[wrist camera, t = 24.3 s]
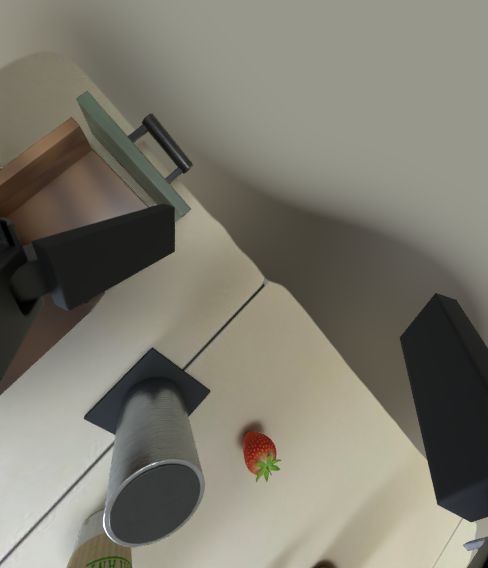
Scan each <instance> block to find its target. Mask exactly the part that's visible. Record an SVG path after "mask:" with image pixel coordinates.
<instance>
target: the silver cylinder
mask: <svg viewBox="0 0 488 568" xmlns="http://www.w3.org/2000/svg"><path fill="white" fill-rule="evenodd" d="M204 486H205V483H204V477H203V473H202V469H201V465H200V461H199V457H198V453H197V449H196V445H195V441H194V437H193V433H192V429H191V425H190V421H189V418H188V414H187V410H186V406H185V402H184V398H183V394H182V391H181V389H180V387H179V386H178V384H177V383H175V382H174V381H172V380H170V379H168V378H164V377H153V378H148V379H145V380H143V381H140V382H139V383H137V384H135V385H134V386H133V387H132V388H130V389H129V390H128V392H127V393H126V394H125V395H124V397H123V399H122V401H121V404H120V409H119V416H118V422H117V429H116V436H115V443H114V449H113V456H112V463H111V470H110V476H109V483H108V490H107V497H106V503H105V510H104V518H103V523H104V528H105V531H106V533H107V535H108V536H109V538H110V539H111V540H112V541H114V542H116V543H117V544H120V545H123V546H127V547H139V546H145V545H149V544H153V543H155V542H158V541H160V540H162V539H164V538H166V537H168V536H170V535H171V534H173V533H174V532H175V531H177V530H178V529H179V528H181V527H182V526H183V525H184V524H185V523H186V522H187V521H188V520H189V519H190V518H191V516H192V515H193V514H194V512H195V511H196V509H197V508H198V506H199V504H200V502H201V500H202V497H203V493H204Z"/></svg>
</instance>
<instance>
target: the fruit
mask: <svg viewBox="0 0 488 568" xmlns="http://www.w3.org/2000/svg"><path fill="white" fill-rule="evenodd" d="M243 452H244V459H245V463H246V465H247V468H248V469H249V470H250V472H251V473H253V474H255V475H257V478H256V482H257V481H258V479H259V478H260V476H261V475H263V474H264V476H265V479H266V481H267V480H268V475H269V473H270V474H271V472H270V470H277V471H278V470H280V468H279V467H277V466H275V465H273V464H275V463H276V462H278V461H281V460H276V448H275V445H274V443H273V442H272V440H271V439H270V438H269V437H267V436H266V435H264V434H262V433H259V432H255V431H250V432H248V433H246V435H245V437H244V445H243Z"/></svg>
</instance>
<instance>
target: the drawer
mask: <svg viewBox="0 0 488 568" xmlns="http://www.w3.org/2000/svg"><path fill="white" fill-rule="evenodd" d="M76 100H77V102H78V104H79V106H80V108H81V110H82V112H83V114H84V117H85V119H86V121H87V123H88V125H89V127H90V129H91V131H92V134H93V135H94V136H95V137H96V138H97V139H98V140H99V141H100V142H101V143H102V144H103V145H104V146H105V147H106V149H107V150H108V151H109V152H110V153H111V154H112V155H113V156H114V157H115V158H116V159H117V160H118V161H119V162H120V164H121V165H122V166H123V167H124V168H125V169H126V170H127V171H128V172H129V173H130V174H131V175H132V176H133V177H134V178H135V180H136V181H137V182H138V183H139V184H140V185H141V186H142V187H143V188H144V189H145V190H146V191H147V192H148V193H149V194H150V196H151V197H152V198H153V199H154V200H155V201H156V202H157V203H158V204H159V205H160V204H163V203H164V204H167V205H170V206H173V207H175V222H176V221H177V220H179V219H180V218H181V217H183V216H184V215H185V214H186V213H187V212H188V211H190V210H191V208H190V207H189V206H188V205H187V204H186V203H185V201H184V200H183V199H182V198H181V197H180V196H179V195H178V193H177V192H176V191H175V190H174V189H173V188H172V187H171V186H170V183H171V182H172V181H173V180H174V179H176V178H177V177H178V176H179V175H180V174H181V173H182V172H183V174H184V173H186V172H187V171H188V170H189V169H190V168H191V167H192V166H193V164H192V162H191V161H190V160H189V159H188V157H187V156H186V155H185V154H184V152H183V151H182V150H181V149H180V148H179V146H178V145H177V144H176V142H175V141H174V140H173V139H172V138H171V136H170V135H169V134H168V132H167V131H166V130H165V129H164V127H163V126H162V125H161V124H160V123H159V121H158V120H157V119H156V117H155V116H154V115H153V114H149V115H148V116H146V117H145V118H144V120H143V122H142V124H143V125H141V126H140V127H139V128H138V129H136V130H135V131H134V132H133V133H131V134H130V135H129V136H128V137H127V135H126V134H125V133H124V132H123V131H122V130H121V129H120V127H119V126H118V125H117V124H116V123H115V122H114V121H113V119H112V118H111V117H110V116H109V115H108V114H107V113H106V111H105V110H104V109H103V108H102V107H101V106H100V105H99V104H98V102H97V101H96V100H95V99H94V98H93V97H92V96H91V94H90V93H89V92H88V91H86V92H84V93H83V94H82V95H80V96H79V97H77V98H76ZM147 132H149V133H150V134H151V135H152V136H153V138H154V139H155V140H156V141H157V142H158V143H159V144H160V146H161V147H162V148H163V150H164V151H165V152H166V153H167V154H168V156H169V157H170V158H171V159H172V160H173V162H174V163H175V164H176V165H177V166H178V168H177V169H176V170H175V171H174V172H172V173H171V174H170V175H169V176H168V177H167V178H165V179H164V178H163V176H162V175H161V174H160V173H159V172H158V171H157V170H156V168H155V167H154V166H153V165H152V164H151V163H150V162H149V160H148V159H147V158H146V157H145V156H144V155H143V154H142V152H141V151H140V150H139V149H138V148H137V147H136V146H135V145H134V142H136V141H137V140H138V139H139V138H140V137H142V136H143V135H144V134H145V133H147ZM146 208H149V207H148V206H147V205H146V204H145V203H144V202H143V201H142V200H141V199H140V198H139V197H138V196H137V195H136V194H135V193H134V192H133V191H132V190H131V189H130V188H129V187H128V186H127V185H126V183H125V182H124V181H123V180H122V179H121V178H120V177H119V176H118V175H117V174H116V173H115V172H114V171H113V170H112V169H111V168H110V167H109V166H108V165H107V164H106V163H105V162H104V161H103V160H102V159H101V158H100V157H99V155H98V154H97V153H96V152H95V151H94V150H93V149H92V148H91V146H90V144H89V142H88V140H87V138H86V137H85V135H84V133H83V131H82V129H81V128H80V126H79V125H78V124H77V122H76V121H75V120H74V119H73V118H72V117H71V118H70V119H68V120H67V121H65V122H64V123H63V124H61V125H60V126H59V127H57V128H56V129H55V130H53V131H52V132H51V133H49V134H48V135H47V136H45V137H44V138H42V139H41V140H40V141H38V142H37V143H36V144H34V145H33V146H32V147H30V148H29V149H28V150H26V151H25V152H23V153H22V154H21V155H19V156H18V157H17V158H15V159H14V160H13V161H11V162H10V163H9V164H7V165H6V166H5V167H3V168H2V169H0V217H3V218H7V219H10V220H11V221H12V222H13V223H14V226H15V228H16V231H17V233H18V236H19V238H20V241H21V243H22V246H25V245H28V244H32V243H31V241H33V240H37V239H40V238H44V237H47V236H51V235H54V234H58V233H61V232H65V231H68V230H72V229H76V228H79V227H83V226H86V225H90V224H93V223H97V222H100V221H104V220H107V219H111V218H114V217H118V216H121V215H125V214H128V213H132V212H135V211H139V210H142V209H146Z"/></svg>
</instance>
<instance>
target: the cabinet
mask: <svg viewBox="0 0 488 568" xmlns="http://www.w3.org/2000/svg"><path fill="white" fill-rule="evenodd" d="M104 294H105V292H102V293H101V294H99V295H97V296H95V297H93V298H92V299H90V300H88V301H86V302H85V303H83V304H81V305H79V306H78V307H76V308H74V309H72V310H71V311H67V310H65V309H63V308H61V307H59V306H57V305H55V304H54V301H53V298H52V296H51V293H50V292H49V293H47V294H45V295H43V298H44V300H45V301H44V305H43V307H42V309H41V310H40V312H39V314H38V316H37V318H36V319H35V321H34V323H33V325H32V326H31V328H30V330H29V332H28V334H27V335H26V337H25V339H24V341H23V342H22V344H21V346H20V348H19V350H18V351H17V353H16V355H15V357H14V358H13V360H12V362H11V364H10V366H9V367H8V369H7V371H6V373H5V374H4V376H3V378H2V380H1V382H0V395H1V394H2V393H3V392H4V391H5V390H6V389H7V388H8V387H10V386H11V385H12V384H13V383H14V382H15V381H16V380H17V379H18V378H19V377H20V376H21V375H22V374H24V373H25V372H26V371H27V370H28V369H29V368H30V367H31V366H32V365H33V364H34V363H35V362H36V361H38V360H39V359H40V358H41V357H42V356H43V355H44V354H45V353H46V352H47V351H48V350H49V349H50V348H52V347H53V346H54V345H55V344H56V343H57V342H58V341H59V340H60V339H61V338H62V337H63V336H64V335H66V334H67V333H68V332H69V331H70V330H71V329H72V328H73V327H74V326H75V325H76V324H77V323H78V322H80V321H81V320H82V319H83V318H84V317H85V316H86V315H87V314H88V313H89V312H90V311H91V310H92V309H93V308H94V306H95V305H96V304H97V303H98V301H99V300H100V299H101V297H102V296H103V295H104Z"/></svg>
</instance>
